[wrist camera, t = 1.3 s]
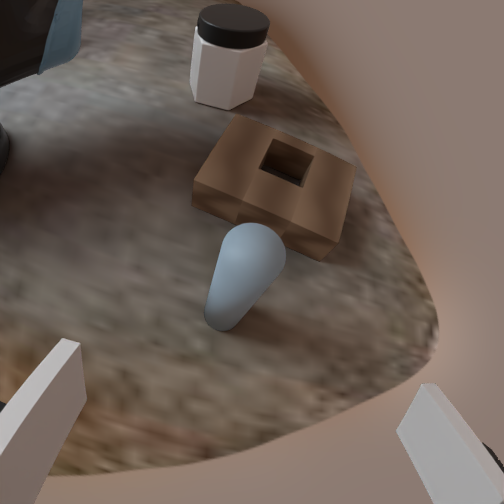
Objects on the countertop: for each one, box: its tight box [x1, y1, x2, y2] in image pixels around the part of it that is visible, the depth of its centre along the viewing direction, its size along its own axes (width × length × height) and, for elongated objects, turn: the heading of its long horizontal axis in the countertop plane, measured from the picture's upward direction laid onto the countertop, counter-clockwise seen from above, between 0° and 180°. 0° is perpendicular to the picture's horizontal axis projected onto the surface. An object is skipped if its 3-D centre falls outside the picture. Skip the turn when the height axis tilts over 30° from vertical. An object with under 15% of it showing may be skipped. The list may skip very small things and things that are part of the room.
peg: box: [204, 223, 286, 331], centre depth 22 cm, size 3×3×14 cm
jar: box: [190, 4, 270, 110], centre depth 34 cm, size 9×8×12 cm
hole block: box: [192, 114, 357, 262], centre depth 32 cm, size 14×10×4 cm
